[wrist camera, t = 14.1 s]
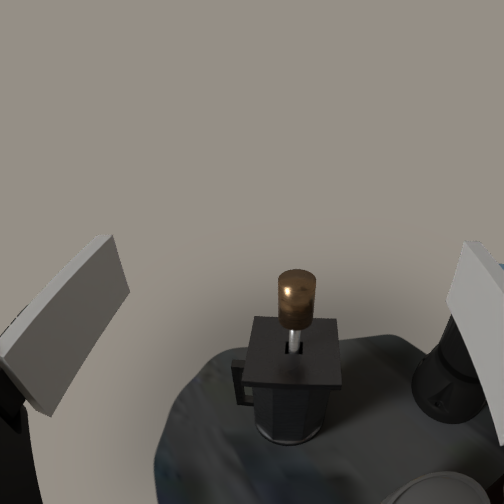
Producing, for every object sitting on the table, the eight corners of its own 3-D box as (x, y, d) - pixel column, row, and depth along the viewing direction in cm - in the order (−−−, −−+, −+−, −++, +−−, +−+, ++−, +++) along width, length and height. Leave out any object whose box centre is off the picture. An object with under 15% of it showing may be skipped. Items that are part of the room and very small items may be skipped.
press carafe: (323, 390, 46) (336, 318, 38) (323, 446, 37) (342, 384, 29) (244, 387, 48) (236, 315, 40) (234, 441, 39) (219, 378, 31)
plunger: (315, 385, 43) (331, 260, 32) (314, 426, 37) (338, 304, 26) (267, 383, 44) (263, 258, 33) (261, 423, 38) (254, 302, 27)
